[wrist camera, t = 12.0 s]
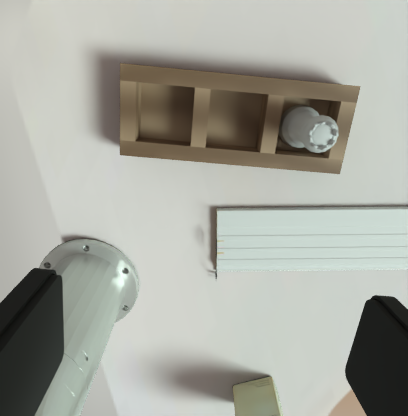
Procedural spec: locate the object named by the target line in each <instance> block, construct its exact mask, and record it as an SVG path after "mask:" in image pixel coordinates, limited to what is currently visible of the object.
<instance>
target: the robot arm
mask: <svg viewBox="0 0 408 416" xmlns="http://www.w3.org/2000/svg"><path fill="white" fill-rule="evenodd" d="M88 246H89V247H88ZM126 268H127V269H126ZM138 288H139V282H138V277H137V274H136V271H135V269H134V267H133V265H132V264H131V262H130V261H129V259H128V258H127V257H126V256H125V255H124V254H123V253H121V252H120V251H119V250H117V249H116V248H114V247H112V246H110V245H108V244H106V243H103V242H100V241H97V240H90V239H77V240H72V241H68V242H65V243H63V244H61V245H58V246H57V247H56V248H54V249H53V250H52V251H51V252H50V253H49V254H48V255H47V256H46V257H45V258H44V260H43V261H42V263H41V265H40V267H39V268H34V269H32V270H31V271H30V272H29V273H28V274H27V276H25V277H24V279H23V280H22V281H21V282H20V283H19V284H18V285H17V286H16V287H15V288H14V289H13V290H12V291H11V292H10V293H9V294H8V295H7V297H6V298H5V299H4V300H3V301H2V302H1V303H0V416H80V415H81V412H82V409H83V407H84V404H85V401H86V398H87V396H88V393H89V390H90V388H91V385H92V382H93V380H94V377H95V374H96V371H97V369H98V366H99V364H100V361H101V358H102V355H103V353H104V350H105V347H106V345H107V342H108V339H109V337H110V334H111V331H112V329H113V326H114V323H116V322H118V321H119V320H121V319H122V318H124V317H125V316H126V315H127V314H128V313H129V312H130V310H131V309H132V307H133V306H134V304H135V301H136V298H137V295H138ZM345 373H346V378H347V381H348V382H349V384H350V386H351V388H352V390H353V392H354V393H355V395H356V397H357V399H358V401H359V402H360V404H361V406H362V408H363V409H364V411H365V413H366V415H367V416H408V309H407V308H406V307H405V306H403V305H402V304H401V303H400V302H399V301H398V300H397V299H396V298H395V297H390V296H377V295H375V296H373V297H372V298H371V299H370V300H367V301H366V303H365V306H364V309H363V312H362V315H361V319H360V322H359V325H358V328H357V332H356V335H355V338H354V341H353V345H352V348H351V351H350V354H349V358H348V361H347V364H346V368H345Z"/></svg>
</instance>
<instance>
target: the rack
mask: <svg viewBox="0 0 408 416" xmlns="http://www.w3.org/2000/svg"><path fill="white" fill-rule="evenodd" d="M359 90H360V86H351V85H341V84H330V83H320V82H310V81H299V80H289V79H279V78H268V77H258V76H248V75H237V74H227V73H217V72H207V71H196V70H186V69H176V68H165V67H155V66H145V65H134V64H124V63H120V155H126V156H137V157H149V158H160V159H172V160H183V161H195V162H206V163H218V164H230V165H241V166H253V167H264V168H276V169H287V170H299V171H310V172H322V173H334V174H340V171H341V166H342V162H343V158H344V154H345V150H346V145H347V141H348V137H349V133H350V128H351V124H352V120H353V116H354V112H355V107H356V103H357V99H358V95H359ZM296 105H306V106H310V107H312V108H313V109H314V110H316V111H317V112H318V113H319V115H324V116H329V117H331V118H332V119H333V120H335V122H336V124H337V126H338V134H339V136H338V137H337V140H336V143H335V144H334V146H332V147H331V148H330V149H328V150H327V151H325V152H321V153H315V152H311V151H309V150H308V149H306V148H305V147H303V148H296V147H291V146H289V145H287V144H286V143H285V142H283V141H282V139H281V137H280V135H279V125H280V119H281V116H282V115H283V114H284V112H285V111H286V110H288V109H289V108H291V107H292V106H296Z"/></svg>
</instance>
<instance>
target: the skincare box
mask: <svg viewBox="0 0 408 416" xmlns="http://www.w3.org/2000/svg"><path fill="white" fill-rule="evenodd" d="M233 395H234V406H235V416H283V412H282V408H281V404H280V400H279V396H278V392H277V389H276V387H275V384H274V381H273V379H272V377H266V378H262V379H257V380H253V381H249V382H245V383H241V384H237V385H234V386H233Z"/></svg>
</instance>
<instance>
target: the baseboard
mask: <svg viewBox="0 0 408 416" xmlns="http://www.w3.org/2000/svg"><path fill="white" fill-rule="evenodd" d="M317 270H408V206H390V207H275V208H216V277H217V272H221V271H317Z"/></svg>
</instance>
